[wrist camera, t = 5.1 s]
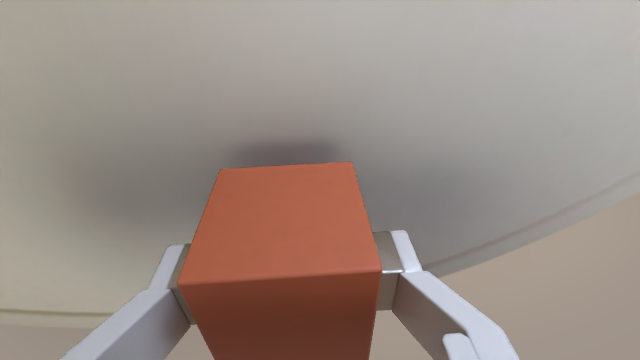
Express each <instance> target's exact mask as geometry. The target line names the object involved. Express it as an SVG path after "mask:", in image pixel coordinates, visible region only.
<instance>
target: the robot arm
mask: <svg viewBox="0 0 640 360" xmlns="http://www.w3.org/2000/svg"><path fill="white" fill-rule="evenodd" d="M372 233H373V236H374V240H375V243H376V247H377V250H378V254H379V257H380V260H381V264H382V267H383V270H382V277H381V283H380V290H379V296H378V303H377V309H376V311H377V310H392V312H393V313H394V314H395V315H396V316H397V317H398V318H399V320H400V321H401V322H402V323H403V325H404V326H405V327H406V328H407V329H408V330H409V331H410V333H411V334H412V335H413V336H414V337H415V338H416V340H417V341H418V342H419V343H420V344H421V345H422V346H423V348H424V349H425V350H426V351H427V352H428V353H429V355H430V356H431V357H432V358H433V360H519V357H518V356H517V354H516V352H515V351H514V349H513V347H512V346H511V344H510V342H509V340H508V338H507V336H506V335H505V333H504V331H503V330H502V328H501V327H499V326H498V325H497V324H495V323H494V322H493V321H492V320H490V319H489V318H488V317H487V316H485V315H484V314H483V313H481V312H480V311H479V310H478V309H476V308H475V307H474V306H472V305H471V304H470V303H468V302H467V301H466V300H465V299H463V298H462V297H461V296H460V295H458V294H457V293H456V292H454V291H453V290H452V289H451V288H449V287H448V286H447V285H445V284H444V283H443V282H442V281H440V280H439V279H438V278H436V277H435V276H434V275H433V274H431V273H430V272H429V271H423V269H422V267H421V264H420V262H419V260H418V257H417V255H416V253H415V250H414V248H413V246H412V243H411V241H410V239H409V236H408V234H407V232H406V231H405V230H395V231H380V232H372ZM190 246H191V244H176V245H170V246H168V247H167V248H166V250H165V252H164V254H163V256H162V258H161V260H160V263H159V265H158V267H157V269H156V271H155V273H154V275H153V277H152V279H151V281H150V284H149V286H148V288H147V290H146V291H141V292H139V293H138V294H137V295H136V296H134V297H133V298H132V299H131V300H130V301H128V302H127V303H126V304H125V305H124V306H122V307H121V308H120V309H119V310H118V311H116V312H115V313H114V314H113V315H112V316H110V317H109V318H108V319H107V320H106V321H104V322H103V323H102V324H101V325H99V326H98V327H97V328H96V329H95V330H94V331H92V332H91V333H90V334H89V335H87V336H86V337H85V338H84V339H83V340H81V341H80V342H79V343H78V344H77V345H76V346H74V347H73V348H72V349H71V350H69V351H68V352H67V353H66V354H65V355H63V356H62V357H61V358H60V359H58V360H164V359H165V358H166V357H167V355H168V354H169V353H170V352H171V350H172V349H173V348H174V346H175V345H176V344H177V343H178V342H179V340H180V339H181V338H182V337H183V336H184V334H185V333H186V332H187V330H188V329H189V328H190V327H191V326H190V325H194V324H196V322H195V320H194V318H193V316H192V314H191V312H190V310H189V308H188V307H187V305H186V303H185V301H184V299H183V297H182V295H181V293H180V291H179V289H178V287H177V279H178V277H179V274H180V271H181V269H182V266H183V264H184V261H185V259H186V256H187V253H188V251H189V248H190Z"/></svg>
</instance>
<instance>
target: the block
mask: <svg viewBox="0 0 640 360" xmlns="http://www.w3.org/2000/svg"><path fill="white" fill-rule="evenodd" d="M382 270H383V267H382V264H381V260H380V257H379V254H378V250H377V247H376V243H375V240H374V236H373V233H372V229H371V226H370V222H369V219H368V216H367V212H366V209H365V205H364V202H363V198H362V195H361V191H360V188H359V184H358V181H357V178H356V174H355V171H354V167H353V164H352V162H337V163H319V164H301V165H283V166H265V167H247V168H229V169H221V170H220V171H219V173H218V176H217V178H216V181H215V184H214V186H213V189H212V191H211V194H210V197H209V199H208V202H207V204H206V207H205V209H204V212H203V215H202V217H201V220H200V222H199V225H198V228H197V230H196V233H195V235H194V238H193V240H192V243H191V246H190V248H189V251H188V253H187V256H186V259H185V261H184V264H183V266H182V269H181V271H180V274H179V277H178V279H177V287H178V289H179V291H180V293H181V295H182V297H183V299H184V301H185V303H186V305H187V307H188V308H189V310H190V312H191V314H192V316H193V318H194V320H195V322H196V324H197V326H198V328H199V330H200V332H201V334H202V336H203V338H204V340H205V342H206V344H207V345H208V348H209V350H210V352H211V353H212V355H213V357H214V359H215V360H369V354H370V347H371V341H372V335H373V328H374V322H375V315H376V309H377V303H378V296H379V290H380V283H381V277H382Z"/></svg>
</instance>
